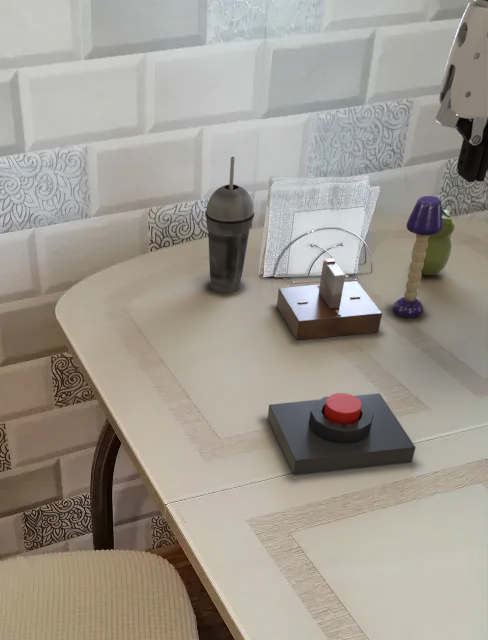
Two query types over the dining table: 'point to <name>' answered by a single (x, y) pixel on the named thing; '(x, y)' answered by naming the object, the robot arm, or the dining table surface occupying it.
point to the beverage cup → (228, 233)
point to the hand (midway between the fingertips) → (470, 177)
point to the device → (339, 436)
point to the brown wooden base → (328, 312)
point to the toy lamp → (419, 251)
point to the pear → (438, 247)
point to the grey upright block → (331, 283)
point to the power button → (342, 408)
